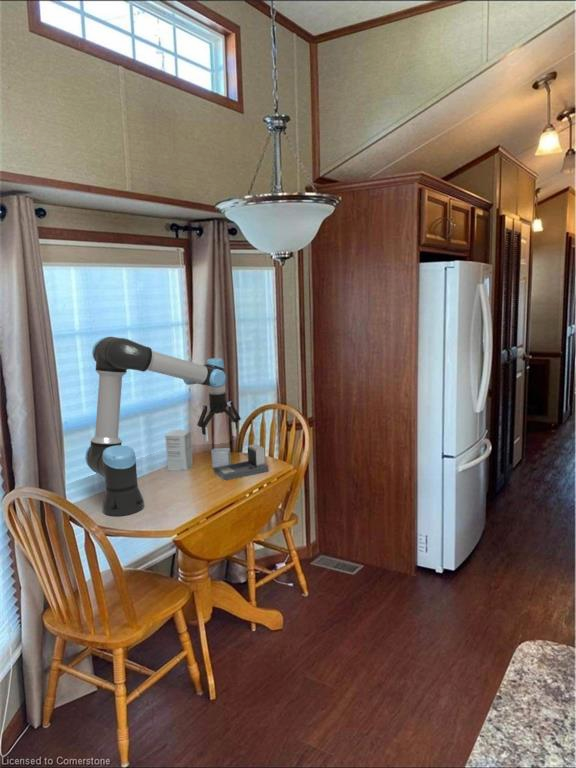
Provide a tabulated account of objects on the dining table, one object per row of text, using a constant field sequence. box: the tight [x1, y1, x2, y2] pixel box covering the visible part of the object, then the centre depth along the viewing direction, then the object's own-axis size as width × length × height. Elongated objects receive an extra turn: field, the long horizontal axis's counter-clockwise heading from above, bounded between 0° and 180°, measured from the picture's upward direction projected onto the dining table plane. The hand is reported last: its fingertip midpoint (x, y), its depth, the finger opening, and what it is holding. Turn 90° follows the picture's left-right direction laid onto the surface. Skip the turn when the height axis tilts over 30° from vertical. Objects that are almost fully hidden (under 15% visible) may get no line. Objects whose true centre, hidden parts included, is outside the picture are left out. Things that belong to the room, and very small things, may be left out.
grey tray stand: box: [213, 443, 269, 481], centre depth 251 cm, size 21×12×10 cm, turn 119°
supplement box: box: [164, 429, 194, 472], centre depth 261 cm, size 10×9×17 cm
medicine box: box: [210, 447, 232, 468], centre depth 259 cm, size 8×4×9 cm, turn 84°
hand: (220, 438), depth 258 cm, fingers open, 13 cm apart
